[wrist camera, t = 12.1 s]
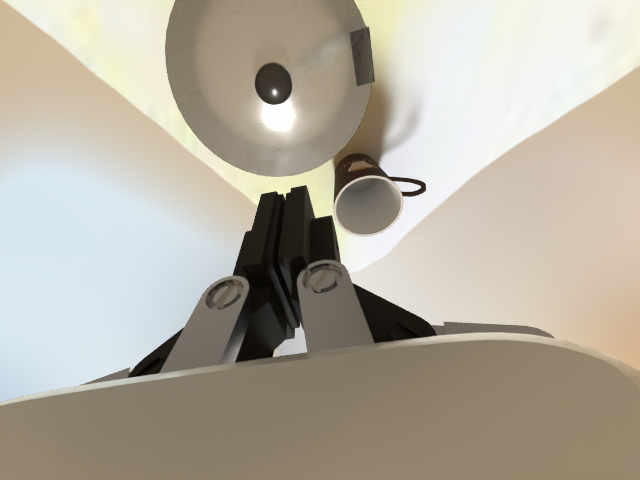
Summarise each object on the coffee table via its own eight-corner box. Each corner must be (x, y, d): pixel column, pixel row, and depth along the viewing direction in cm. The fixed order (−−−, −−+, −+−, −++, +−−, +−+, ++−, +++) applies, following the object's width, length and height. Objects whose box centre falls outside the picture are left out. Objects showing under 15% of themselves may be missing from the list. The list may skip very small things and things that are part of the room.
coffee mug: (320, 193, 46) (325, 229, 38) (337, 139, 41) (346, 167, 33) (389, 208, 49) (406, 245, 41) (412, 159, 44) (437, 190, 36)
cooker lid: (352, -85, 21) (361, -98, 19) (378, 147, 31) (386, 157, 29) (125, -16, 22) (107, -21, 19) (222, 188, 32) (218, 201, 29)
